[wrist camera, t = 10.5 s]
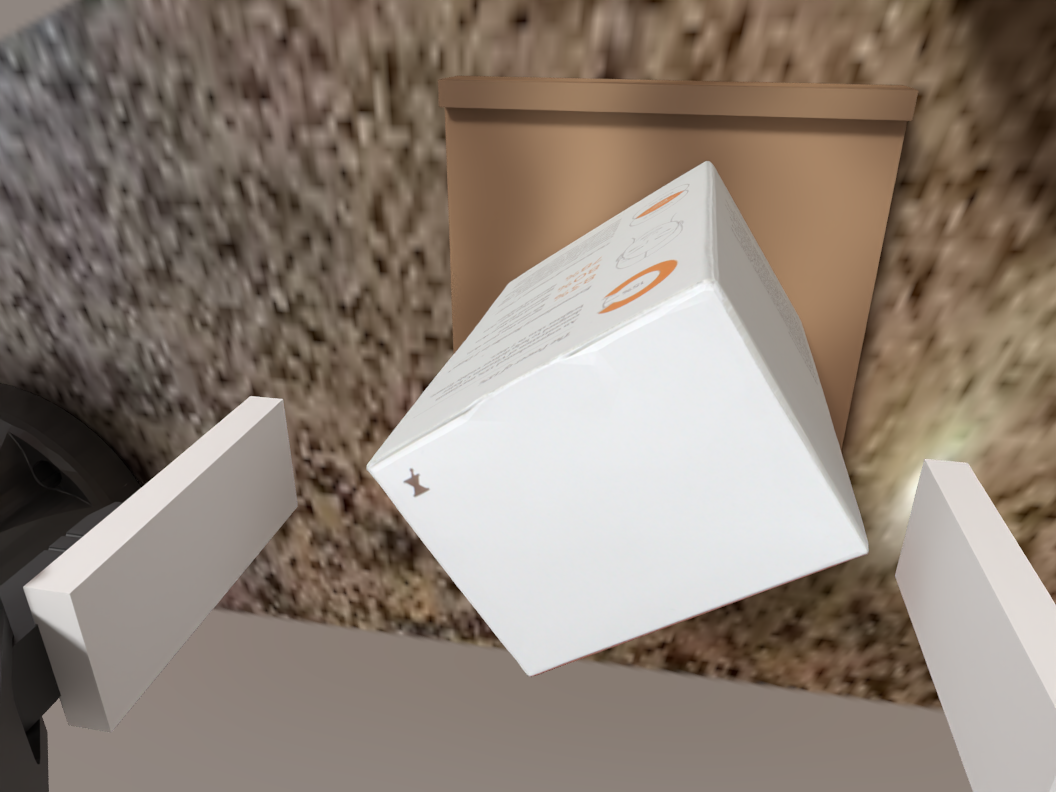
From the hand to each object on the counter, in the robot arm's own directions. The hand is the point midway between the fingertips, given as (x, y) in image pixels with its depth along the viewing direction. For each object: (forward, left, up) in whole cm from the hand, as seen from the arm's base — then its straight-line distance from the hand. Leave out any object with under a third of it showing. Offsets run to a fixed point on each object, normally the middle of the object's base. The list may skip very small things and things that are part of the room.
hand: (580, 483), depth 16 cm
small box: (+1, 0, -12) cm, 12 cm away
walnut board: (0, 0, -13) cm, 13 cm away
